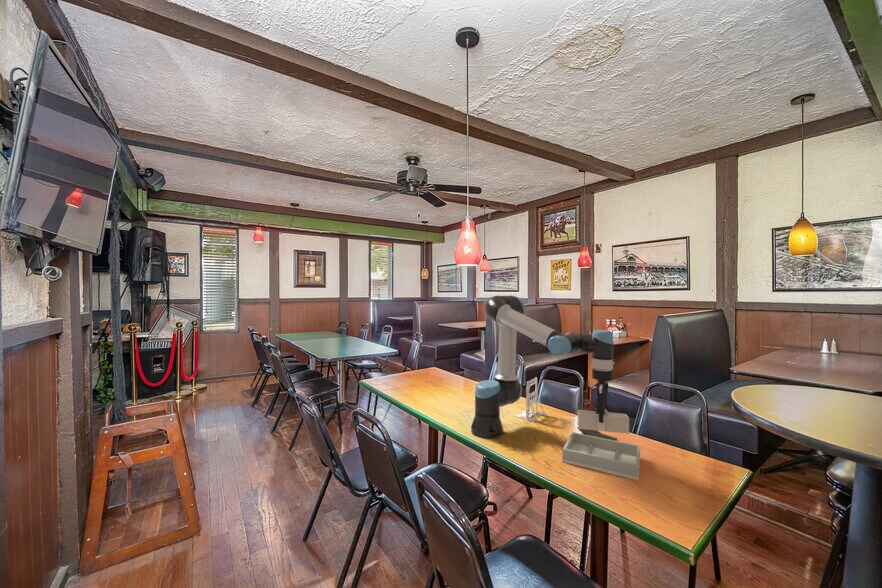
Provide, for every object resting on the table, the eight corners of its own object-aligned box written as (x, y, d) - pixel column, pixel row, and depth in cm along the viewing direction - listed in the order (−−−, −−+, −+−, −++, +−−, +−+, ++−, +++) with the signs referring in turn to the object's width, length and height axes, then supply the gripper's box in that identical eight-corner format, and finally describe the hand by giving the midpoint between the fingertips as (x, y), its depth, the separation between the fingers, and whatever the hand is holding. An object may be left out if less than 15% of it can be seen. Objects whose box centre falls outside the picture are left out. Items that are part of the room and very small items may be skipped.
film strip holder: (523, 410, 200) (523, 374, 200) (547, 415, 191) (548, 378, 192) (512, 417, 188) (513, 379, 188) (538, 422, 180) (538, 383, 180)
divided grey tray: (562, 461, 138) (562, 448, 138) (572, 443, 155) (572, 432, 155) (638, 480, 124) (638, 466, 124) (640, 458, 142) (640, 445, 142)
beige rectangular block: (578, 428, 140) (578, 413, 140) (577, 424, 145) (577, 409, 145) (629, 433, 135) (629, 418, 135) (626, 429, 139) (626, 413, 139)
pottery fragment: (619, 442, 158) (620, 432, 158) (604, 448, 151) (604, 438, 151) (590, 431, 170) (590, 422, 170) (574, 436, 164) (574, 426, 164)
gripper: (610, 374, 130) (610, 437, 130) (615, 366, 146) (614, 422, 146) (588, 372, 134) (588, 433, 133) (595, 364, 150) (595, 418, 150)
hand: (602, 427), depth 140 cm, fingers closed on beige rectangular block, 6 cm apart
